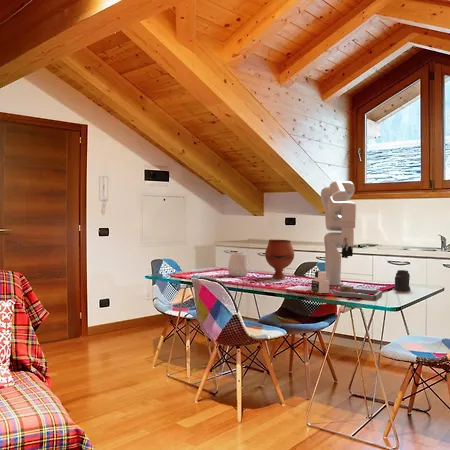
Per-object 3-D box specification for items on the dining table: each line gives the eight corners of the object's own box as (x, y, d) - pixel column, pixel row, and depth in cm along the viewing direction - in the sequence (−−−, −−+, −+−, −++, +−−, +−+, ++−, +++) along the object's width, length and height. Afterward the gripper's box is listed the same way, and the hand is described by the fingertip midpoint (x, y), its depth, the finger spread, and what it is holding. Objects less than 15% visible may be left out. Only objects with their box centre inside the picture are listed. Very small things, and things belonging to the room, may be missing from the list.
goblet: (291, 280, 317) (292, 241, 316) (261, 278, 322) (262, 240, 321) (295, 276, 335) (296, 239, 334) (267, 275, 340) (267, 238, 339)
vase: (249, 274, 342) (249, 252, 342) (248, 277, 328) (248, 254, 328) (229, 273, 344) (229, 251, 343) (226, 276, 330) (227, 253, 329)
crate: (339, 294, 267) (339, 286, 267) (342, 293, 272) (342, 285, 272) (350, 295, 265) (351, 287, 264) (353, 294, 269) (353, 285, 269)
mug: (398, 288, 293) (399, 269, 292) (413, 290, 286) (414, 271, 286) (388, 290, 285) (389, 270, 284) (403, 292, 278) (404, 272, 278)
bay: (333, 296, 263) (333, 291, 263) (341, 291, 278) (341, 287, 278) (375, 300, 253) (375, 295, 253) (382, 295, 267) (382, 291, 267)
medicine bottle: (311, 292, 275) (311, 270, 274) (321, 291, 278) (322, 270, 277) (318, 294, 268) (319, 272, 268) (329, 293, 271) (330, 271, 271)
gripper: (345, 224, 277) (344, 255, 278) (336, 225, 262) (335, 258, 262) (358, 224, 273) (358, 255, 274) (350, 226, 258) (350, 259, 259)
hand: (347, 256), depth 268 cm, fingers open, 9 cm apart
